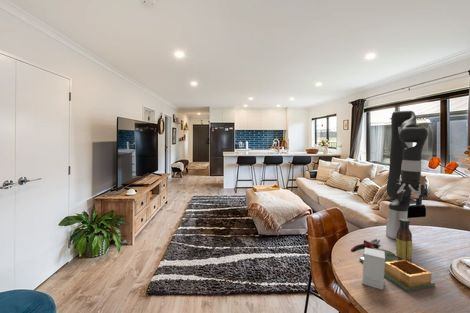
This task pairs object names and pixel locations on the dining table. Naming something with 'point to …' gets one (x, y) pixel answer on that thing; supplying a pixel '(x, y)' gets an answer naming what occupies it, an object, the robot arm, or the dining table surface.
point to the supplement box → (373, 268)
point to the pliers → (367, 245)
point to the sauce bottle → (404, 241)
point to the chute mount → (405, 273)
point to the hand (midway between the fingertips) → (408, 203)
